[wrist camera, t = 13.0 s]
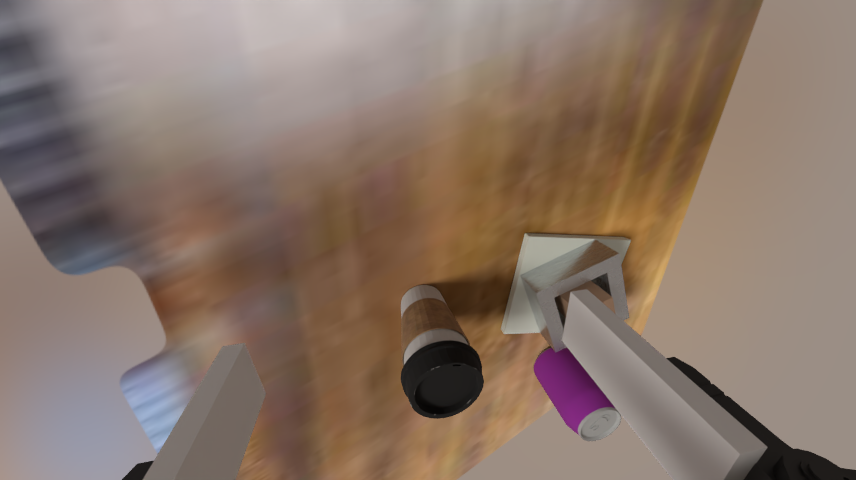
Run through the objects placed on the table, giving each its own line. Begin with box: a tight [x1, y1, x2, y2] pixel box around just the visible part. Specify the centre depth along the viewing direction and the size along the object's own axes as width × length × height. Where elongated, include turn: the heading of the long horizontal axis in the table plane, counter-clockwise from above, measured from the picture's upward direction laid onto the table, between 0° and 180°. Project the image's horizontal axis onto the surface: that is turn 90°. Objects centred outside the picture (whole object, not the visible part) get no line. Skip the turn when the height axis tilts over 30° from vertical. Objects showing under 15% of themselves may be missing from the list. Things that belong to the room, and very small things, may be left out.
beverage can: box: [534, 347, 621, 441], centre depth 46 cm, size 8×8×12 cm
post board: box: [501, 233, 631, 334], centre depth 42 cm, size 16×16×8 cm
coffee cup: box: [401, 285, 484, 418], centre depth 35 cm, size 8×8×15 cm
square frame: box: [520, 240, 629, 352], centre depth 42 cm, size 12×12×4 cm
